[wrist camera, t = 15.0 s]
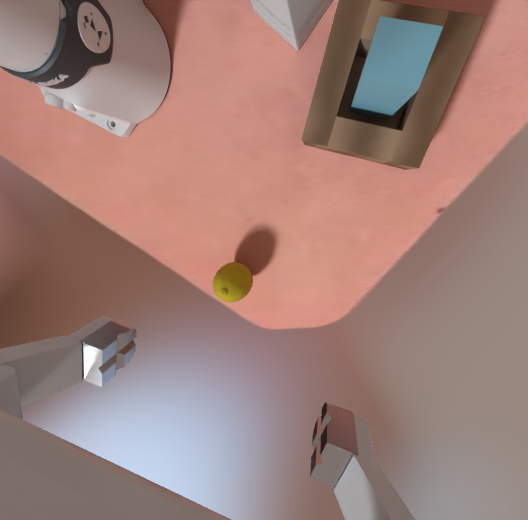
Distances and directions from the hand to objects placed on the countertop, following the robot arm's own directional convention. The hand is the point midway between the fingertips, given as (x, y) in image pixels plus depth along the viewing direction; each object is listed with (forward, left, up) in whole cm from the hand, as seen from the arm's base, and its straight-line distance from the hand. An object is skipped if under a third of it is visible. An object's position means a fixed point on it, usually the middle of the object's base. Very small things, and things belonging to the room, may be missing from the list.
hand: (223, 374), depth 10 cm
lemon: (-7, -9, -29) cm, 31 cm away
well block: (+4, +18, -29) cm, 34 cm away
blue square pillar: (+4, +18, -28) cm, 34 cm away
